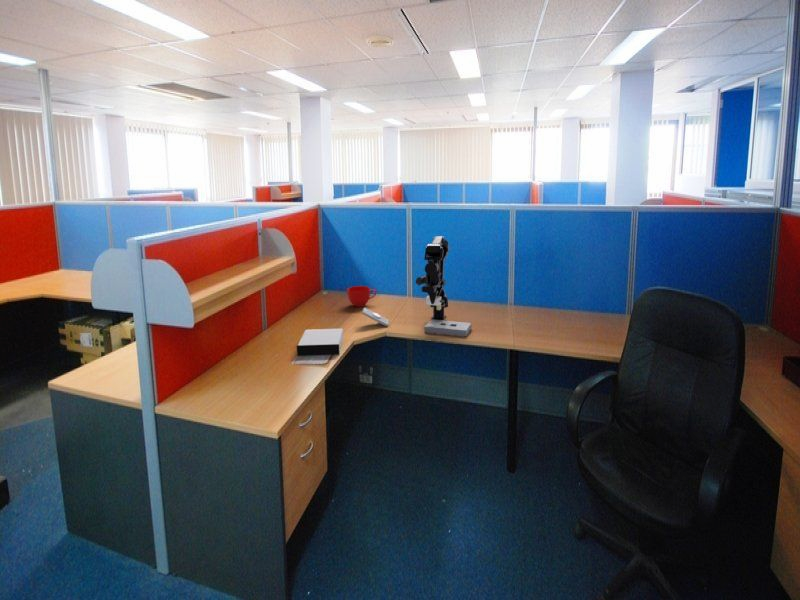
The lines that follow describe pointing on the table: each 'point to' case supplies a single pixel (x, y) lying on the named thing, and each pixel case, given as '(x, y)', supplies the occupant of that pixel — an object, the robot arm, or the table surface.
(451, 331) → the socket
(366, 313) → the light switch
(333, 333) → the disc drive
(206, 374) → the table surface
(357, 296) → the ceramic cup
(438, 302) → the plug
